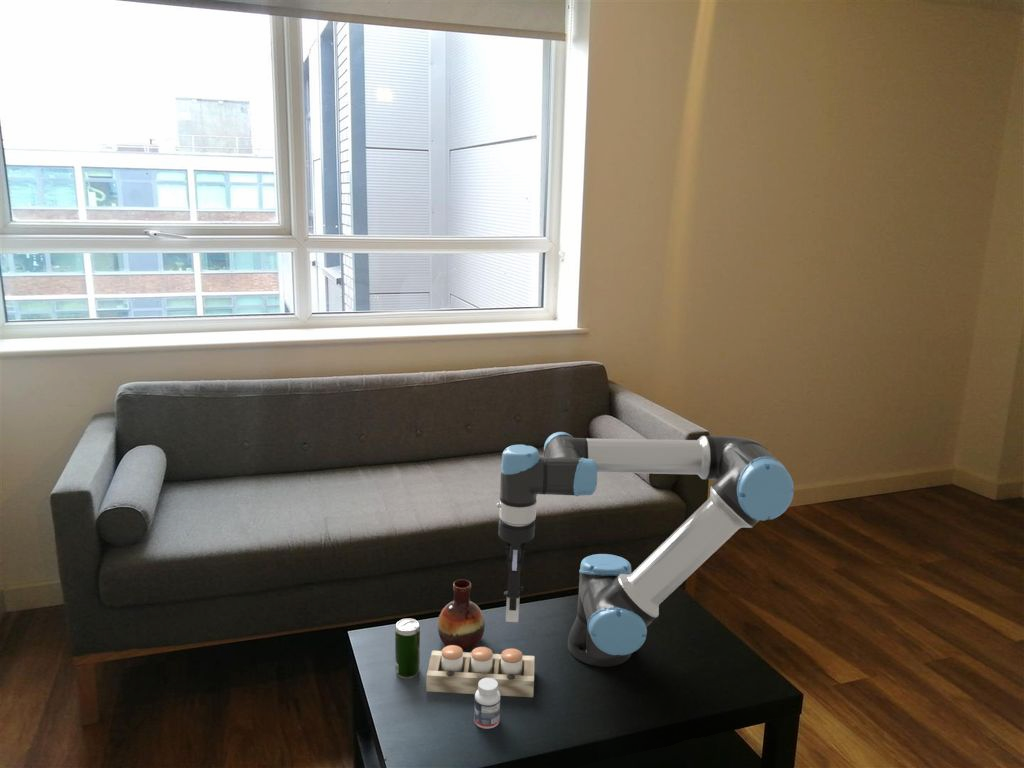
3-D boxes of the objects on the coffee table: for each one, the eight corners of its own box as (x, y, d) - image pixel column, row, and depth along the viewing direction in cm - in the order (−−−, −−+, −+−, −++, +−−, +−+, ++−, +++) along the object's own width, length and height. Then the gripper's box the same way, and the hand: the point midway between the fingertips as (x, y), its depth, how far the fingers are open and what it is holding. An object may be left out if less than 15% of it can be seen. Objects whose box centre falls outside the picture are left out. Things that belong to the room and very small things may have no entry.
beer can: (401, 682, 174) (401, 634, 171) (391, 669, 178) (391, 622, 175) (423, 674, 177) (424, 627, 174) (413, 662, 181) (413, 615, 178)
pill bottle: (473, 712, 165) (474, 675, 163) (498, 711, 166) (500, 675, 164) (474, 730, 160) (475, 692, 158) (500, 729, 161) (501, 691, 158)
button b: (492, 665, 177) (493, 647, 176) (491, 678, 172) (491, 659, 171) (472, 664, 177) (472, 646, 176) (470, 676, 173) (470, 658, 171)
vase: (455, 661, 182) (456, 601, 178) (428, 638, 190) (429, 580, 186) (493, 644, 189) (495, 586, 185) (466, 623, 197) (467, 567, 193)
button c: (463, 663, 177) (463, 645, 176) (461, 676, 173) (461, 658, 171) (442, 662, 177) (443, 644, 176) (440, 675, 173) (440, 657, 172)
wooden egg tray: (533, 671, 179) (534, 655, 178) (533, 697, 171) (534, 680, 170) (431, 665, 180) (432, 649, 179) (426, 691, 171) (426, 674, 170)
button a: (521, 666, 177) (522, 649, 176) (521, 679, 172) (522, 661, 171) (501, 665, 177) (501, 647, 176) (500, 678, 172) (500, 660, 171)
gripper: (500, 505, 171) (496, 602, 177) (497, 532, 159) (492, 636, 165) (535, 507, 171) (530, 605, 177) (534, 534, 158) (528, 638, 165)
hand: (512, 620), depth 171 cm, fingers closed
